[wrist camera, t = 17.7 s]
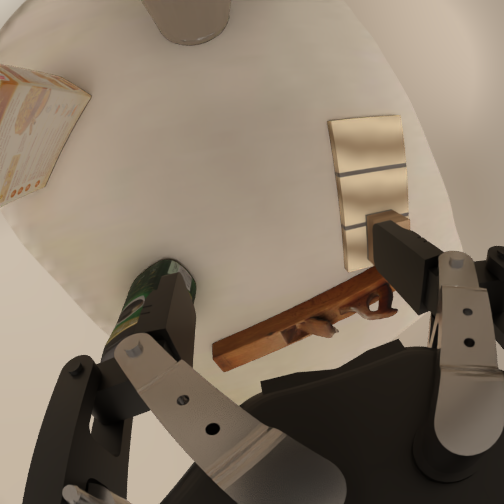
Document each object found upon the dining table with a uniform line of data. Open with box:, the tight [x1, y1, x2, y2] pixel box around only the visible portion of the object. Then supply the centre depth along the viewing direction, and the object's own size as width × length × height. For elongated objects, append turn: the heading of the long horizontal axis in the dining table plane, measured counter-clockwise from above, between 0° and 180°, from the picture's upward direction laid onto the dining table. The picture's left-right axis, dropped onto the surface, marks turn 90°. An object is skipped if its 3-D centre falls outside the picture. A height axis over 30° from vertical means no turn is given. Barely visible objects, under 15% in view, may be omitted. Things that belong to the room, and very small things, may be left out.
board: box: [327, 115, 408, 273], centre depth 38 cm, size 22×11×2 cm, turn 12°
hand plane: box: [212, 266, 398, 372], centre depth 42 cm, size 34×5×10 cm, turn 119°
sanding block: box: [365, 209, 410, 266], centre depth 38 cm, size 7×4×5 cm, turn 12°
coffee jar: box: [101, 260, 196, 362], centre depth 33 cm, size 10×8×19 cm
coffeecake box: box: [0, 64, 91, 207], centre depth 21 cm, size 15×7×20 cm, turn 142°
